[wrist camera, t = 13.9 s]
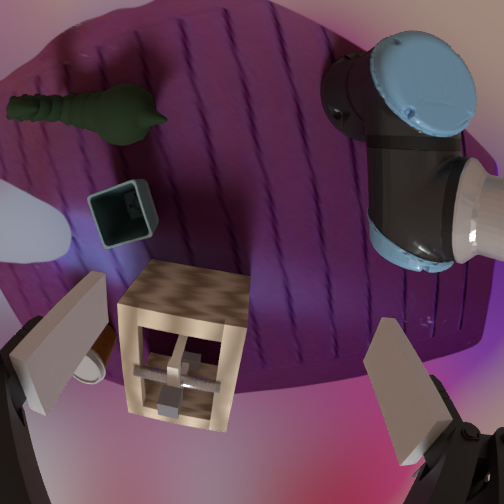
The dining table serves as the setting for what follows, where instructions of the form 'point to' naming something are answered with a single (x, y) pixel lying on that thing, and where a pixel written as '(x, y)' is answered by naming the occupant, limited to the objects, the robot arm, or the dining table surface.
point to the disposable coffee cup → (97, 358)
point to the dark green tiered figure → (94, 112)
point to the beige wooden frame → (189, 324)
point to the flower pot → (124, 213)
